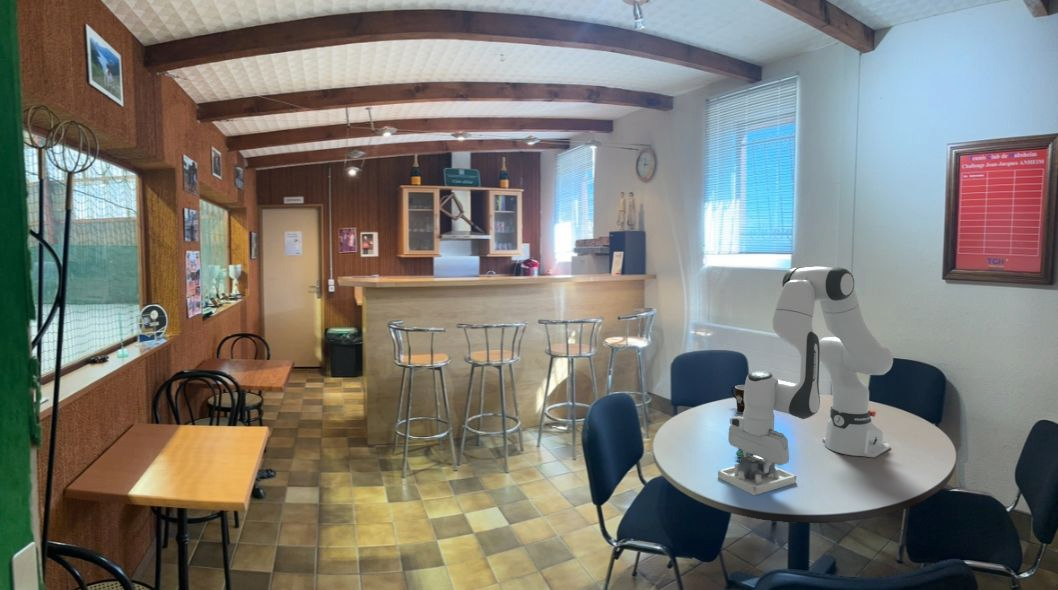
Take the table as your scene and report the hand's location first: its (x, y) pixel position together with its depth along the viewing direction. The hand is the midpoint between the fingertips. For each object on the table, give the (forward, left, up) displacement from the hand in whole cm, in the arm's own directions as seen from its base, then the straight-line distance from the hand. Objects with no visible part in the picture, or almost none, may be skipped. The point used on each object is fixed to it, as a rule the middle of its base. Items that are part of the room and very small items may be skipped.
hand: (756, 468), depth 174 cm
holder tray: (0, 0, -4) cm, 4 cm away
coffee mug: (-53, -53, -4) cm, 75 cm away
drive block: (0, 0, -2) cm, 2 cm away
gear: (-11, -13, -4) cm, 17 cm away
